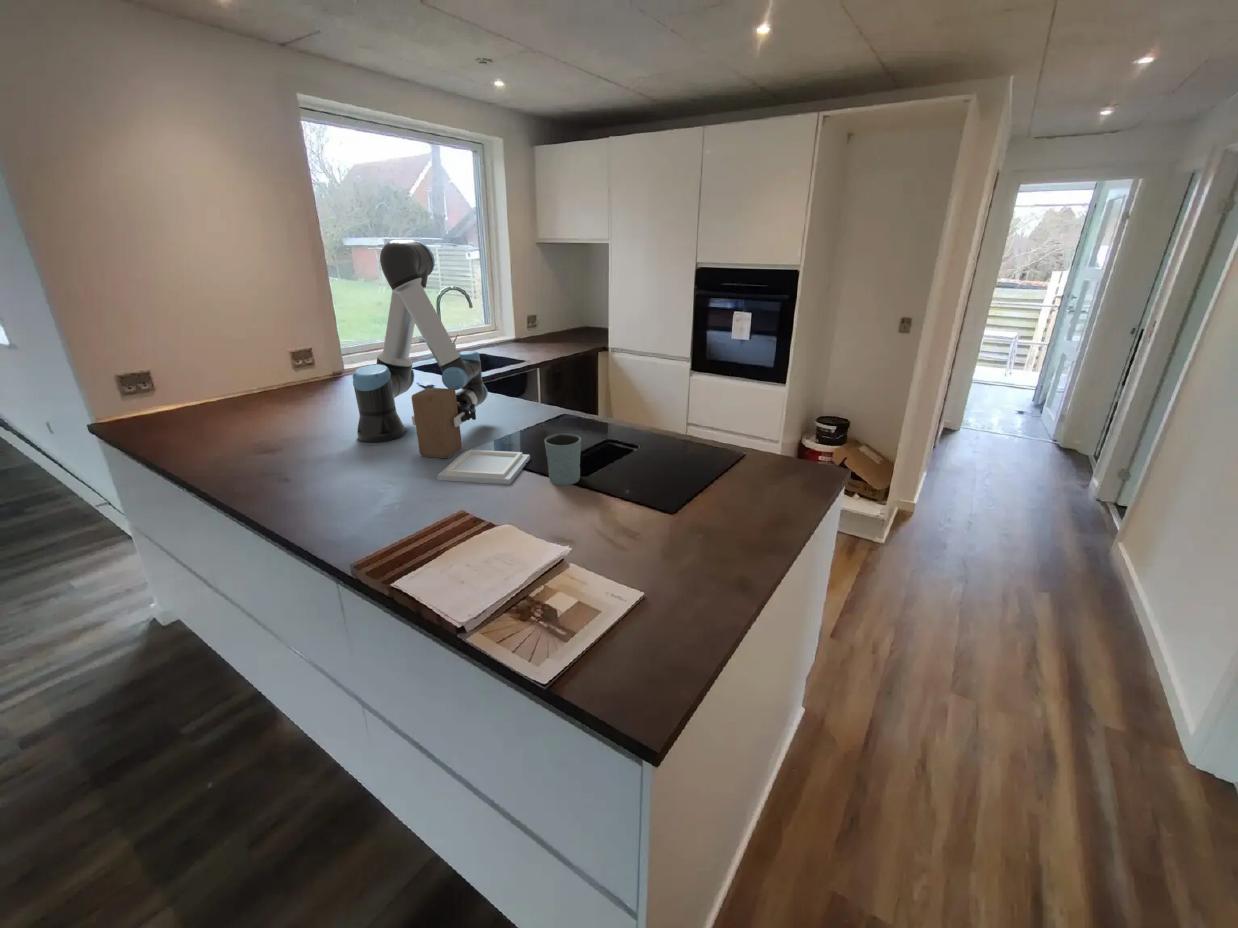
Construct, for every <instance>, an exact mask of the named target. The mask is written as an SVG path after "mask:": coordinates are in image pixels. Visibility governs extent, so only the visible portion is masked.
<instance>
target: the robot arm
mask: <svg viewBox="0 0 1238 928" xmlns="http://www.w3.org/2000/svg"><path fill="white" fill-rule="evenodd" d="M435 262H436V261H435V257H434V253H433V252H432V250H431V249H430V248H429V247H428V245H427V244H425V243H423V242H422V241H418V240H414V239H394V240H390V241H388V242H387V243H386V244H384V245H383V247H382V249H381V250H380V254H379V263H380V268H381V270H382V273H383V275H384V277H385V280H386V281H387V283H388V285H389V287H390V289H391V296H390V303H389V312H388V318H387V323H386V330H385V337H384V343H383V350H382V352H380V353H379V354H378V355H377V358H376V364H370V365H369V364H368V365H366V366H361V367H359V368H357V369H355V370H354V371H353V373H352V386H353V389H354V393H355V399H356V404H357V408H358V414H359V417H358V419H359V420H358V424H357V430H356V433H357V434H356V435H357V437H358V440H359V441H361V442H365V443H381V442H388V441H389V442H390V441H393V440H396V439H398V438H401V437H403V436H404V435H405V434H406V430H405V425H404V424H403V421H402V420H401V418H400V416H399V415H398V411H397V408H396V401H395V398H397V397H398V396H400V395H402V394H404V393H406V392H408V390H409V389H410V388H411V387H412V385H413V384H414V381H415V372H414V370H413V360H412V359H411V358H410V353H411V346H412V341H413V336H414V330H415V325H416V328H417V329H418V331H419V333H420V335H421V336H422V339H423V340H424V341H425V343H426V345H427V347H428V349H429V351H430V353H431V354H432V357H433V358H434V360H435V361H436V363H437V365H438V367H439V368H440V370H441V372H442V375H441V382H442V384H443V386H445V387H446V389H454V390H455V391H457V392H456V400H457V408H458V416H456V417H455V418H454V425H455V427H458V426H459V425H462V424H463V423H464V422H466V421H469V420H473V421H475V420H476V419H477V416H476V415H477V413H476V411H477V409H476V407H478V406H480V405H481V404H483V403H484V402H485V400H486V399H487V398H488V395H489V391H488V388H487V387H486V385H485V384H484V382H483V374H482V365H481V358H480V353H479V351H476V350H465V351H460V352H458V349H457V348H456V346H455V344H454V343H453V340H452V338H451V336H450V335H449V333H448V331H447V329H446V327H445V326H444V324H443V322H442V320H441V319H440V316H439V315H438V313H437V311H436V309H435V307H434V306H433V303H432V302H431V300H430V298H429V296H428V294H427V293H426V290H425V289H426V288H427V283H428V277H429V276H430V275H431V274H432V272H433V271H434V269H435V264H436V263H435ZM458 390H459V391H458ZM411 423H412V426H416V424H415V418H414V415H412V416H411Z"/></svg>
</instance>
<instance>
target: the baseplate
mask: <svg viewBox="0 0 1238 928" xmlns="http://www.w3.org/2000/svg"><path fill="white" fill-rule="evenodd" d="M530 460H531V454H523V452H522V451H521V452H520V451H503V450H486V449H485V450H484V449H483V450H480V449H468V450H464V451H463V452H462V453H461V454H460V455H459V456H458V457H456V458H455V459H454V460H453V461H452V462H451V463H450V464H448V465H447V466H446V467H445V468H444V469H442V471H441V472H439V473H438V474H437V480H438V481H446V482H447V481H448V482H449V481H450V482H463V483H466V482H467V483H481V484H495V485H497V484H499V485H511V484H512V483H513V481H514V480H515V479H516V477H517V476H518V475H520V472H521V471H522V470H523V469H524V467H525V466H526V465H527V464H526V463H528V462H529V461H530Z"/></svg>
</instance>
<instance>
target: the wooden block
mask: <svg viewBox="0 0 1238 928" xmlns="http://www.w3.org/2000/svg"><path fill="white" fill-rule="evenodd" d="M456 393H457V392H456V390H454V389H448V388H442V387H426V388H424V389H422V390H420V391H418V392H416V393H414V394H412V395H411V403H412V411H413V416H414V418H415V424H416V425H415V429H416V436H417V437H416V438H417V443H418V449H419V455H420V457H427V458H428V457H429V458H438V459H439V458H440V459H448V458H451V457H452V456H453V455H454V454H456V453H457V452H459V451H460V450H461V449H462V448H463V447H462V446H463V444H462V442H463V441H462V437H461V436H462V435H461V426H460V425H461V424H460V425H459V426H458V427H455V425H454V418H455V417H456V416H458V408H457V400H456Z"/></svg>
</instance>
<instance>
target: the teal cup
mask: <svg viewBox="0 0 1238 928" xmlns="http://www.w3.org/2000/svg"><path fill="white" fill-rule="evenodd" d="M544 448H545V453H546V458H547V459H546V461H547V467H548V477H549V482H550V483H551V484H554V485H557V486H571V485H574V484H576V483H579V481H580V479H581V467H580V466H581V465H580V464H581V453H582V452H581V450H582V437H581V436H580V435H577V434H573V433H555V434H552V435H549V436H547V437H546V438H544Z"/></svg>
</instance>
